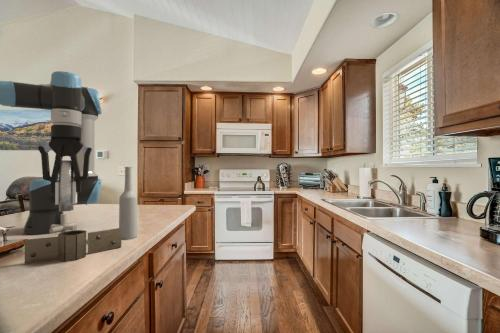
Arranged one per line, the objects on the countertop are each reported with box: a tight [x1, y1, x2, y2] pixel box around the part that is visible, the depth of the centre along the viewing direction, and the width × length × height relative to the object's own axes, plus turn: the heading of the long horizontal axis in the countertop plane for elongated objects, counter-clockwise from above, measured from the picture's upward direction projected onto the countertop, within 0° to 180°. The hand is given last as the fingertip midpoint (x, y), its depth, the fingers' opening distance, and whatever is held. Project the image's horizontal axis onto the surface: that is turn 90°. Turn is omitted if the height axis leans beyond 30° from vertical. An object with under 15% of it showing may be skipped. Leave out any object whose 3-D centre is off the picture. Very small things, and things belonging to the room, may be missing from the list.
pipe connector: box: [49, 213, 78, 234], centre depth 99 cm, size 10×10×10 cm
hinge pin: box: [58, 159, 75, 212], centre depth 79 cm, size 4×4×15 cm
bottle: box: [118, 166, 138, 240], centre depth 104 cm, size 7×7×28 cm
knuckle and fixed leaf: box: [24, 229, 87, 265], centre depth 79 cm, size 7×15×8 cm, turn 116°
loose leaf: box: [87, 227, 122, 254], centre depth 87 cm, size 10×1×6 cm, turn 135°
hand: (66, 203), depth 79 cm, fingers closed on hinge pin, 3 cm apart
